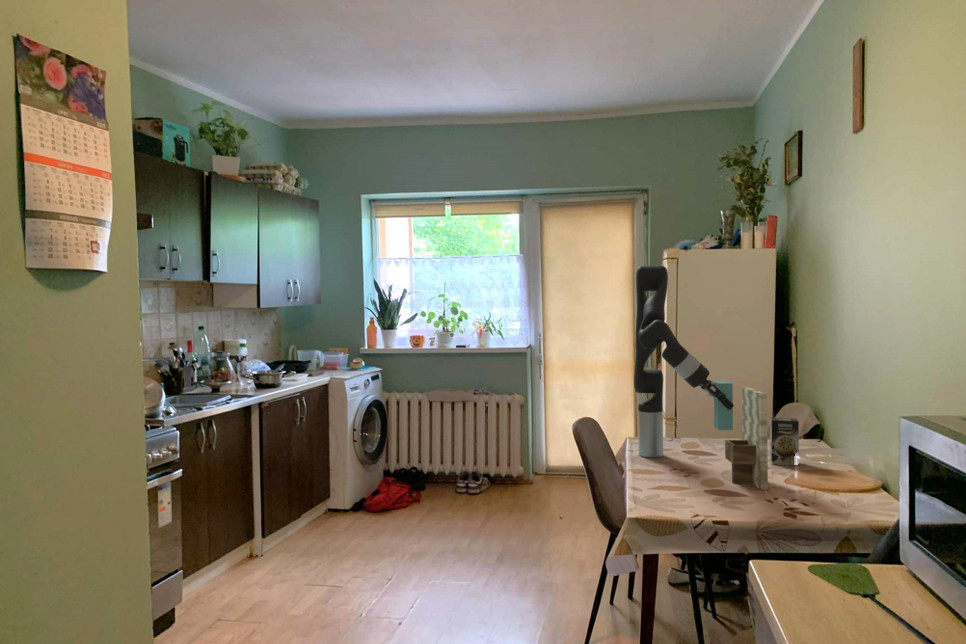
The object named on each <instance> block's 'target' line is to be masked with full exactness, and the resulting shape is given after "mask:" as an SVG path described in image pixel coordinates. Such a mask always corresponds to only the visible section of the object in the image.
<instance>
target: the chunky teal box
mask: <svg viewBox="0 0 966 644" xmlns="http://www.w3.org/2000/svg"><path fill="white" fill-rule="evenodd" d="M713 382H714V383H715V385H716V386H717V387H718V388H719V389H720V390H721V392H722V393H723V394H725V395H726V398H727V399H728V400H729V401H730V402H731V403H732V404H733V403H734V401H733V400H734V397H733V396H734V395H733V394H734V393H733V391H734V390H733V389H734V388H733V387H734V386H733V384H734V383H733V382H731V381H727V380H726V381H721V380H720V381H719V380H718V381H713ZM721 396H722V395H721V394H719V395H718V397H721ZM733 405H734V404H733ZM733 413H734V407H733V408H732V409H730V410H729V409H727V408H726V407H725V406H724V405H723V404H722V403H721V402H719V400H717V399H716V398H713V426H714V428H715V429H716V430H717V431H733V430H734V414H733Z"/></svg>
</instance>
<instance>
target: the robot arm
mask: <svg viewBox="0 0 966 644" xmlns="http://www.w3.org/2000/svg"><path fill="white" fill-rule="evenodd" d="M668 280H669V274H668V269H667V267H665V266H664V265H639V266H638V267H637V269H636V274H635V289H636V290H635V292H636V321H635V364H634V365H635V366H634V372H633V373H634V375H633V386H634V387H633V388H634V390H635V392H636V393H637V394H653V396H651V397H650V398H647V400H645V401H641V402H639V403H638V405H637V410H638V411H637V412H638V415H637V416H638V418H637V419H638V421H637V422H638V455H639V456H641V457H644V458H660V457H664V409H663V407H664V406H663V401H664V400H663V396H664V395H663V393H664V374H663V371H662V370H661V369H657V368H656V369H653V368H652V369H651V368H650V369H648V368H647V369H645V366H646V363H647V361H648V360H649V358H650V356H651V355H652V354H653V352H654V351H655V350H656V349H657V348H658V346H660V344H662V343H665V345H666V347H665V348H664V349H663V351H662V354H661V357H662V359H663V360H664V361H665V362H667V363H668V364H669V365H670V367H672V368H673V369H674V371H675V372H676V373H677V374H678V375H679V376H680V377H681V378H682V379H683V380H684V381H685V382H686V383H687V384H688V385H689V386H690V387H692V388H697V387H700V389H701V390H702V391H704V392H705V393H706V394H707V395H708V396H709V397H711V398H712V399H714V398H716V399H717V400H719V402H721V403H722V404H723V405H724V406H725V407H726V408H727V409H729V410H730V409H732V408H733V409H734V406H735V405H734V404H732V403H731V402H730V401H729V400H728V399H727V398H726V395H725V394H723V393H722V392H721V390H720V389H719V388H718V387H717V386H716V385H715V383H714V381H713V380H710V379H708V377H709V376H710V371H709V369H708V368H707V367H706V366H705V365H703V364H702V363H701V362H700V361H699V359H697V358H696V357H695V356H694V355H693V354H691V353H690V352H689V351H687V349H685V348H684V346H682V345H681V343H680V342H679V341H678V339H677V337H676V336H675V334H674V333H673V331H672V329H671V327H670V326H669V325H668V323H666V322H665V321H666V317H665V315H666V313H665V312H666V311H665V310H666V309H665V308H666V307H665V304H666V298H667V293H668V292H667V291H668V286H669V285H668V284H669V281H668ZM646 292H653V294H651V296H650V297H649V298H647V295H646ZM719 394H721V395H722V396H721V397H718V395H719Z"/></svg>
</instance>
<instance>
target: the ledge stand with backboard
mask: <svg viewBox="0 0 966 644" xmlns="http://www.w3.org/2000/svg"><path fill="white" fill-rule="evenodd" d="M741 414H742V415H741V418H742V419H741V420H742V421H741V423H742V424H741V425H742V428H741V429H742V431H741V433H742V434H741V435H742V439H725V440H724V450H725V451H724V454H725V455H724V457H725V459H726V460H727V461H728V462H730V463H731V482H732V483H733V484H753V485H754V486H755V485H756V486H755V487H757V489H759V490H760V491H768V490H769V488H768V487H769V484H768V483H769V482H768V481H769V480H768V479H769V478H768V474H769V473H768V472H769V471H768V465H769V464H768V394H767V393H765V392H763V391H759V390H758V389H755V388H751V387H750V386H742V387H741Z"/></svg>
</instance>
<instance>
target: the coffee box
mask: <svg viewBox="0 0 966 644" xmlns="http://www.w3.org/2000/svg"><path fill="white" fill-rule="evenodd" d="M769 419H770V424H769V425H770V426H769V428H770V429H769V431H770V435H769V436H770V437H769V438H770V439H769V441H770V443H769V447H770V448H769V459H770V464H771V465H774V464H777V466H790V465H793V466H794V456H795V454H796V453H797V452H799V451H800V449H799V448H800V447H799V442H800V441H799V438H800V437H799V435H800V434H799V433H800V431H799V430H800V429H799V427H800V425H799V422H800V421H799V420H798V419H797V418H787V417H784V418H783V417H782V418H780V417H770V418H769ZM799 453H800V452H799ZM794 467H795V466H794Z"/></svg>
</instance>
